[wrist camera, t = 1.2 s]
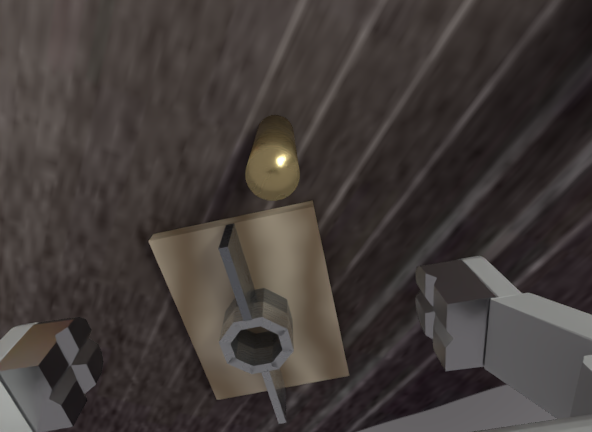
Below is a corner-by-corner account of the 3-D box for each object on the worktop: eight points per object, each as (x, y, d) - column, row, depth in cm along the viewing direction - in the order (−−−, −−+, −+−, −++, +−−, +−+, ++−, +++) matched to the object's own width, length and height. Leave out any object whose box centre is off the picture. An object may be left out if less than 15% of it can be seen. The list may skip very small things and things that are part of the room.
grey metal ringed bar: (264, 216, 34) (262, 239, 30) (309, 382, 43) (312, 417, 39) (196, 231, 35) (184, 255, 30) (255, 392, 44) (252, 428, 39)
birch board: (312, 200, 35) (313, 206, 34) (347, 365, 44) (349, 375, 43) (153, 234, 36) (148, 241, 35) (218, 389, 45) (216, 400, 44)
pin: (289, 111, 32) (293, 143, 21) (296, 147, 33) (304, 194, 22) (253, 119, 32) (238, 155, 21) (262, 154, 33) (253, 205, 22)
